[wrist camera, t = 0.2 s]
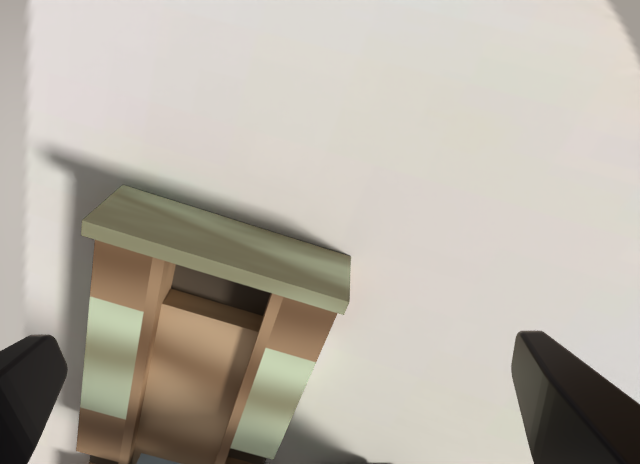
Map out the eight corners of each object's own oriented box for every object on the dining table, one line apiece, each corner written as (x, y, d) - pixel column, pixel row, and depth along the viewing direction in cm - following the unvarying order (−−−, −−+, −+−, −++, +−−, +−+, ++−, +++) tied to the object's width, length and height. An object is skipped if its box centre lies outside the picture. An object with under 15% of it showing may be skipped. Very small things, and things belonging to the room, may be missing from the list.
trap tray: (231, 539, 39) (218, 594, 36) (86, 502, 38) (58, 555, 35) (350, 256, 25) (349, 302, 21) (122, 184, 24) (82, 220, 20)
